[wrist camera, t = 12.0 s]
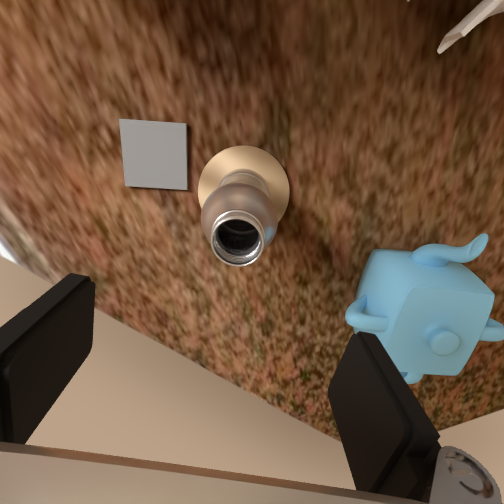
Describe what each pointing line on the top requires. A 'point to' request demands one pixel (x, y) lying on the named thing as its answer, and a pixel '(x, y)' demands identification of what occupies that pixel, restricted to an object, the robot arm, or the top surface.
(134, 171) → the slate coaster
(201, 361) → the top surface
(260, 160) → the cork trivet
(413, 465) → the robot arm
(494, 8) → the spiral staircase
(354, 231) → the top surface
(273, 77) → the top surface
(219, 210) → the silver metal bottle
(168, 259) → the top surface
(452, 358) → the teapot
